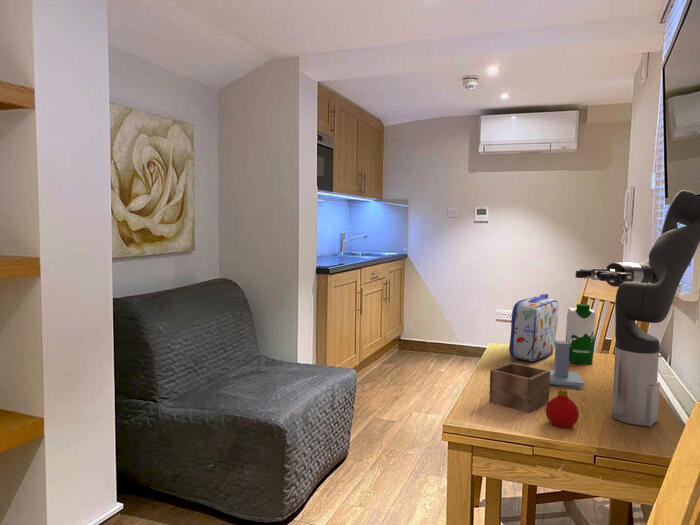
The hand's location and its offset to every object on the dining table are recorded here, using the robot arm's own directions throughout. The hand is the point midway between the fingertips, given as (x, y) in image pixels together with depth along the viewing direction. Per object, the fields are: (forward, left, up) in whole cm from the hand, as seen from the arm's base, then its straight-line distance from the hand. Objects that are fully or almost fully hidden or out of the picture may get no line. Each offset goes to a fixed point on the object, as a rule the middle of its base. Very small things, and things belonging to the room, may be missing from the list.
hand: (588, 275), depth 157 cm
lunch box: (+23, -15, -32) cm, 42 cm away
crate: (+3, +36, -32) cm, 48 cm away
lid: (+3, +10, -32) cm, 33 cm away
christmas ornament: (-11, +43, -32) cm, 55 cm away
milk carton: (+9, -20, -32) cm, 39 cm away
